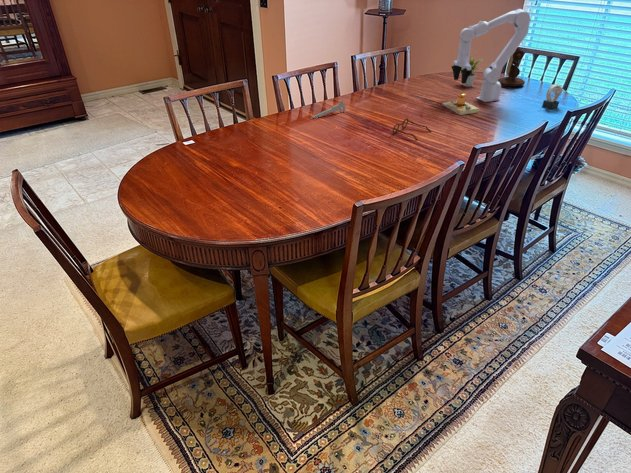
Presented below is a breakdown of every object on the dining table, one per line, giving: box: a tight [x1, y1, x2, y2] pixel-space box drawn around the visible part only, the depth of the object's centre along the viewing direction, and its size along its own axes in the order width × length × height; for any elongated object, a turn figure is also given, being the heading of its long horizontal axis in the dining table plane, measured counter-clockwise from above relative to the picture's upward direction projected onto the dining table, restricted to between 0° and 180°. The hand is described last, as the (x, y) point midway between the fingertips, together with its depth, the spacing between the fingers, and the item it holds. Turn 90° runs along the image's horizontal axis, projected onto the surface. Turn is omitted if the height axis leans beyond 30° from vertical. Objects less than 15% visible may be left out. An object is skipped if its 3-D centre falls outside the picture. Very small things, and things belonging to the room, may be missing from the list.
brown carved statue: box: [497, 47, 526, 88], centre depth 248 cm, size 15×15×20 cm
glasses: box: [392, 117, 432, 141], centre depth 194 cm, size 13×13×5 cm
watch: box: [541, 84, 564, 110], centre depth 215 cm, size 6×8×11 cm
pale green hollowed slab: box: [441, 100, 480, 116], centre depth 221 cm, size 10×18×3 cm, turn 15°
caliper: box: [310, 100, 346, 120], centre depth 219 cm, size 20×1×6 cm, turn 119°
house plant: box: [462, 56, 486, 88], centre depth 251 cm, size 14×14×16 cm
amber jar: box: [456, 92, 468, 107], centre depth 220 cm, size 5×5×7 cm
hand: (459, 81), depth 230 cm, fingers open, 7 cm apart
